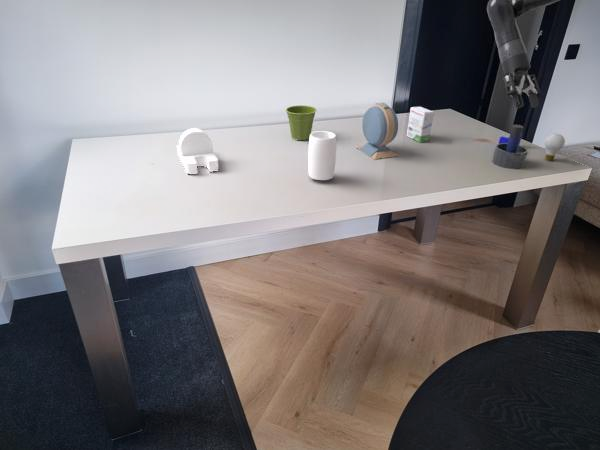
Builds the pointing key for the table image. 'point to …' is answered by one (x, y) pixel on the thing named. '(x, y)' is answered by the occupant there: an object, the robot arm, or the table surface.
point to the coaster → (482, 140)
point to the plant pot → (301, 121)
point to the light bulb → (553, 145)
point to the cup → (322, 155)
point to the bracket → (196, 151)
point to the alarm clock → (379, 131)
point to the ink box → (420, 124)
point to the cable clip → (507, 139)
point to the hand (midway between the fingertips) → (528, 107)
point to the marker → (514, 138)
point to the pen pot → (509, 157)
